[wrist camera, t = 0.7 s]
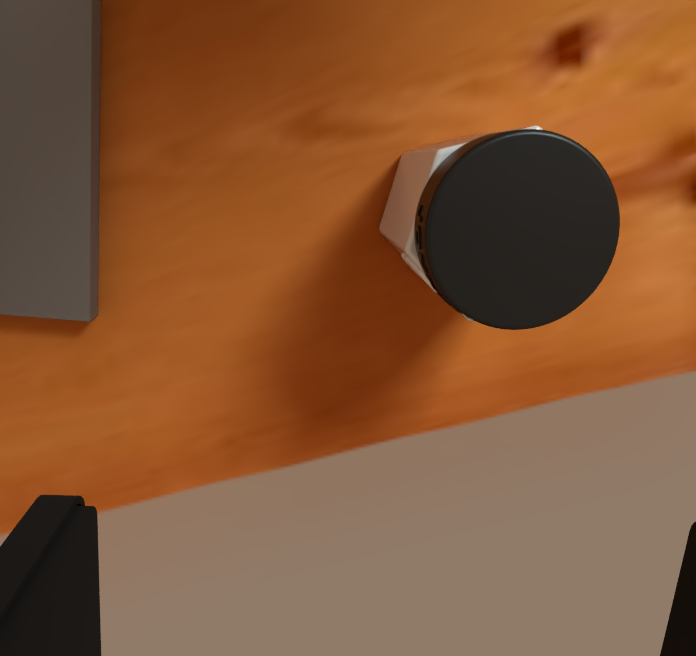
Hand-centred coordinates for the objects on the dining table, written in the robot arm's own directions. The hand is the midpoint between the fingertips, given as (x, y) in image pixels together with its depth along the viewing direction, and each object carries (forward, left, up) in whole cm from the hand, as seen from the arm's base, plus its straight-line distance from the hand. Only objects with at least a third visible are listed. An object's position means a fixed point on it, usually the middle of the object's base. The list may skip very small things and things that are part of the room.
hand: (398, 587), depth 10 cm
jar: (-4, +7, -29) cm, 30 cm away
